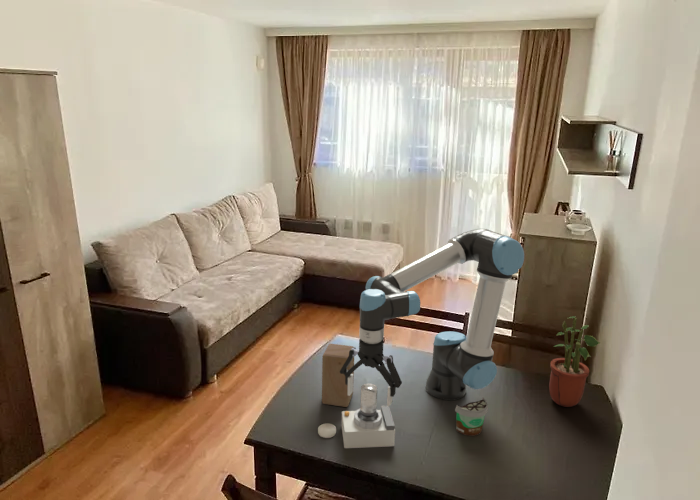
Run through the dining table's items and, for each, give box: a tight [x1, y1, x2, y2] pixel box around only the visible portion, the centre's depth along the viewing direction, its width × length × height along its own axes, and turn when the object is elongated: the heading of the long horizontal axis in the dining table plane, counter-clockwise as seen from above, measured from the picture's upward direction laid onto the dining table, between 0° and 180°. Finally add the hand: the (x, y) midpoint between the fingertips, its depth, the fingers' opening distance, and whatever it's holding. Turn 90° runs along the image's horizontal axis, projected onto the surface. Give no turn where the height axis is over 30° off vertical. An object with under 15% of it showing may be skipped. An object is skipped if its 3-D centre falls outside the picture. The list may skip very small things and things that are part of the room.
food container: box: [454, 397, 489, 437], centre depth 166 cm, size 12×6×10 cm, turn 117°
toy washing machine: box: [340, 405, 396, 449], centre depth 163 cm, size 16×11×8 cm
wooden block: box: [321, 343, 355, 408], centre depth 181 cm, size 10×10×20 cm
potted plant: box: [548, 315, 601, 408], centre depth 183 cm, size 17×16×35 cm
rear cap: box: [317, 422, 337, 439], centre depth 165 cm, size 6×6×2 cm
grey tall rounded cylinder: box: [359, 383, 378, 422], centre depth 160 cm, size 5×5×12 cm
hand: (369, 398), depth 160 cm, fingers open, 13 cm apart
